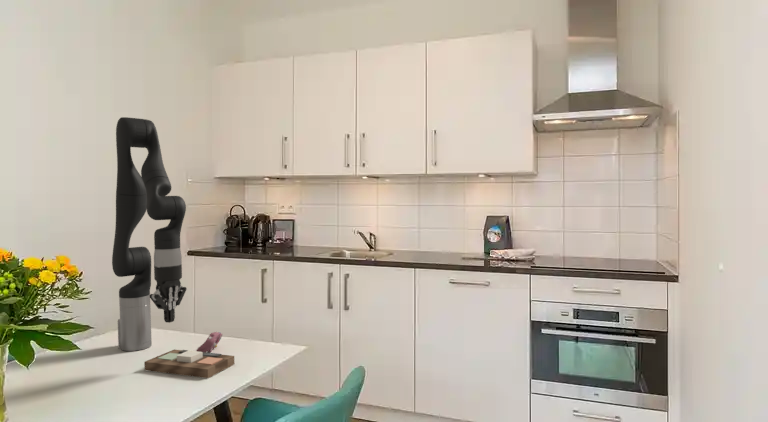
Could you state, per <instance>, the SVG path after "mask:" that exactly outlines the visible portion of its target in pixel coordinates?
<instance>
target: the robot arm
mask: <svg viewBox="0 0 768 422" xmlns="http://www.w3.org/2000/svg"><path fill="white" fill-rule="evenodd" d="M115 142H116V145H115V146H116V162H117V163H116V164H117V165H116V166H117V171H116V173H117V174H116V188H115V189H116V190H115V191H116V192H115V231H114V239H113V248H112V255H111V266H112V270H113V273H114V274H115V276H116V277H119V278H123V277H124V278H125V277H132V276H134V277H133V279H131V281H130V282H128V283H127V284H125V285H123V286H122V287H120V288H119V290H118V300H119V301H118V302H119V319H117V337H118V338H117V339H118V340H117V342H118V349H121V351H124V352H134V351H140V350H145V349H148V348H150V347H151V346H152V315H151V312H152V311H151V301H152V302H153V304H154V305H155V307H156V308H157V309H159V310H163V320H164V322H165V323H169V324H170V323H172V322H175V318H176V317H175V316H176V312H175V311H176V310H175V309H176V307H177V306H180V304H181V302H182V300H183V299H184V296H185V294H186V291H187V290H188V289H187V287H186V286H183V285H182V283H181V280H182V277H183V267H182V265H183V264H182V262H183V261H182V257H183V256H182V250H181V232H182V226H183V223H184V220H185V216H186V211H187V205H186V201H185V200H184V199H183V197H181V196H180V195H169V194H170V193H171V191H172V183H171V180H170V179H169V176H168V174H167V172H166V169H165V166H164V161H163V157H162V151H161V150H162V149H161V145H160V140H159V135H158V130H157V128H156V125H155V124H154V121H153V120H151V119H145V118H139V117H138V118H137V117H123V116H122V117H120V118H119V119H118V120H117V123H116V128H115ZM131 148H140V149H142V148H143V149H146V150H147V156H146V158H145V160H144V162H143V163H142V165H141V169H140V172H139V171H138V169H137V168H136V166H135V164H134V161H133V158H132V151H131V150H132V149H131ZM146 213H147V215H148V217H150V218H151V219H152V220H153V221H166V220H167V221H169V223H168V225H166V226H164V227H161V228H158V229H156V230H155V231H154V234H153V236H154V237H153V240H154V244H153V245H154V252H153V267H154V268H153V272H154V273H153V276H154V280H155V281H156V284H155V291H154V292H153V293H151V286H152V255H151V252H150V250H149V249H148V248H147V247H146V246H134V247H132V246H131V247H130V242H131V237H132V234H133V232H134V230H136V228H137V226H138V224H139V223H140V222H141V220H142V219H143V217H144V216H145V214H146Z"/></svg>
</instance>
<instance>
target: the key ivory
mask: <svg viewBox="0 0 768 422" xmlns="http://www.w3.org/2000/svg"><path fill="white" fill-rule="evenodd" d="M200 358H203V352H199V351H197V350H189V351H186V352H184V353H182V354H179V355H177V361H180V362H189V363H192V362H194V361H196V360H198V359H200Z"/></svg>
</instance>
